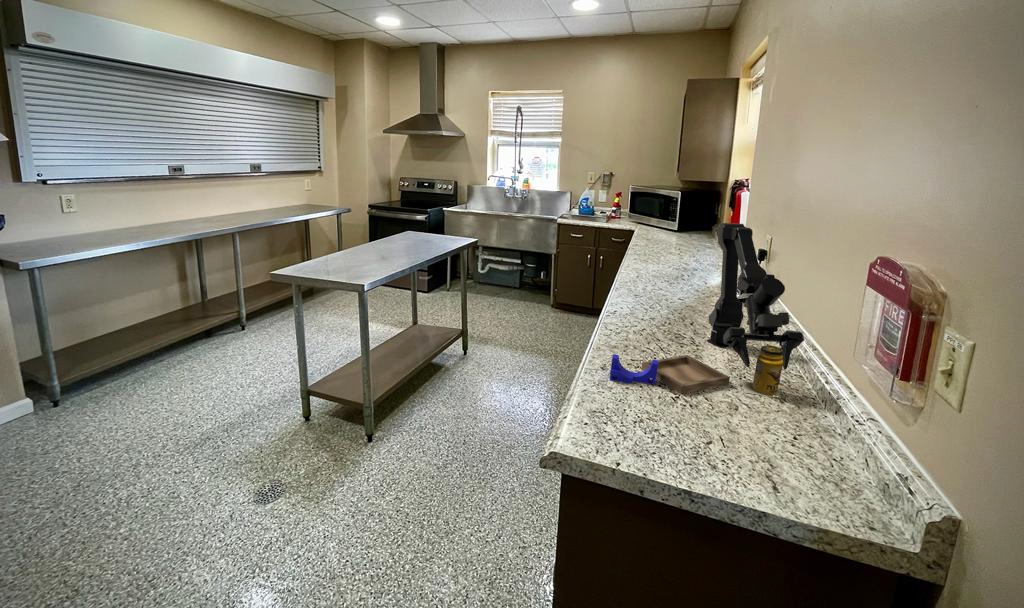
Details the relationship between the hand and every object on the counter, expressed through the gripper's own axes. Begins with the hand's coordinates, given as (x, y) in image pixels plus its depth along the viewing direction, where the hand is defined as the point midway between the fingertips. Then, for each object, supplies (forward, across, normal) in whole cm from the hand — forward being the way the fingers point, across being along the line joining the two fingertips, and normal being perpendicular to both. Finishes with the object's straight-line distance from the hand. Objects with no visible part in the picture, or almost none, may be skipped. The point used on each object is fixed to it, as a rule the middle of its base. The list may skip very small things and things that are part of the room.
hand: (766, 367), depth 130 cm
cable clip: (+4, -33, +6) cm, 34 cm away
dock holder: (+1, -19, +9) cm, 21 cm away
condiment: (+4, 0, +6) cm, 7 cm away
